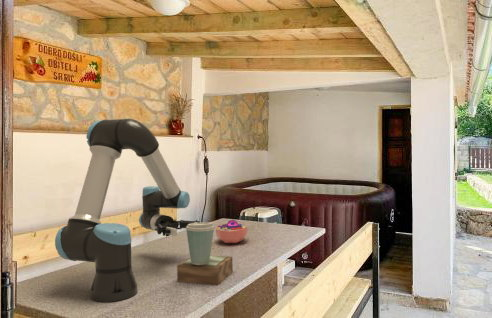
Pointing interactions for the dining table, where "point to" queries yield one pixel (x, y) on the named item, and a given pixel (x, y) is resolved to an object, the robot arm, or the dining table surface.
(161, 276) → the dining table surface
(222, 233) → the cell model
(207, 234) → the disposable coffee cup
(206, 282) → the walnut stand
